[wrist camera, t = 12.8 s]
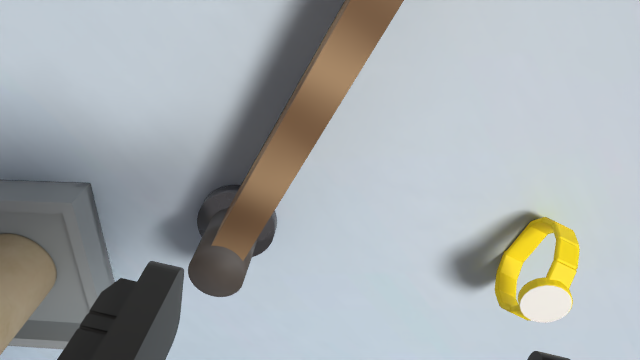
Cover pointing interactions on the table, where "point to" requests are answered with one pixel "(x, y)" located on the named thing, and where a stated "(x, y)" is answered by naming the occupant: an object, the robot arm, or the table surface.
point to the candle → (21, 282)
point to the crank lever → (288, 145)
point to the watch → (543, 293)
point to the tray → (58, 253)
